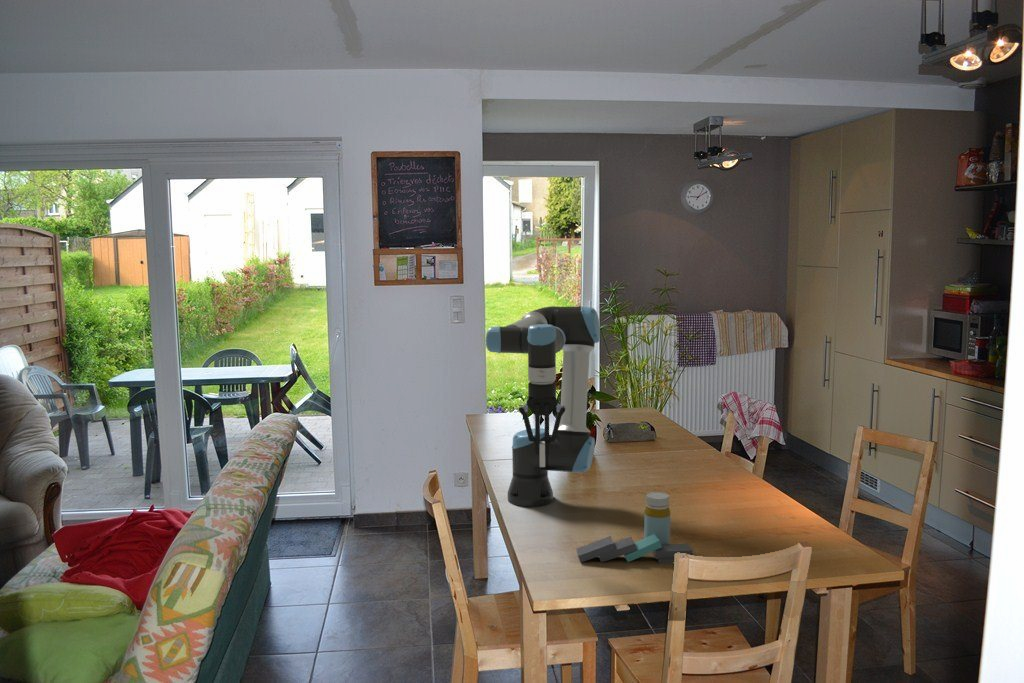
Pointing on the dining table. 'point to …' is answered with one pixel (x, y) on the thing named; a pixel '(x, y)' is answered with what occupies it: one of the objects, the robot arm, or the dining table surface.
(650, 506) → the bottle
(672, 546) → the domino
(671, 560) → the domino
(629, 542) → the domino
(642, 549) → the domino
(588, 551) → the domino
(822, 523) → the dining table surface
